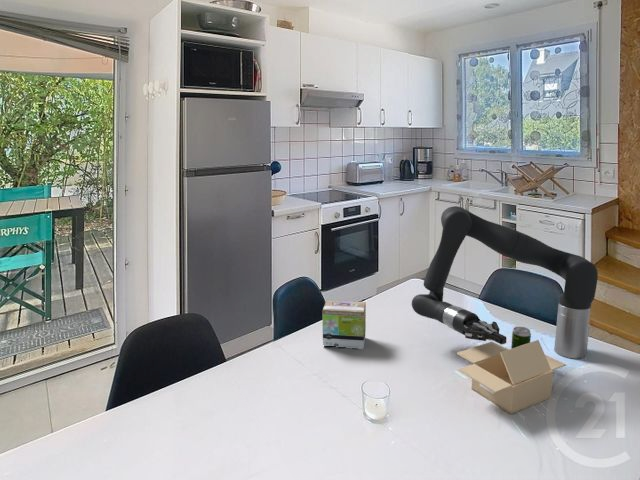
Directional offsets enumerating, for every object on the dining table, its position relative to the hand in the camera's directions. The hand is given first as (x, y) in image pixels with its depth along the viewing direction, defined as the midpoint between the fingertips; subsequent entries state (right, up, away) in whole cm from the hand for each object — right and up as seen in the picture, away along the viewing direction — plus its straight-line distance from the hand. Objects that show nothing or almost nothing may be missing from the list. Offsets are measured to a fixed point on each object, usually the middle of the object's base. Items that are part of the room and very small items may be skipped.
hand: (504, 340), depth 124 cm
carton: (0, -15, +4) cm, 15 cm away
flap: (+5, -9, -7) cm, 12 cm away
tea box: (-44, -9, +35) cm, 57 cm away
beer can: (+12, -12, +16) cm, 23 cm away
